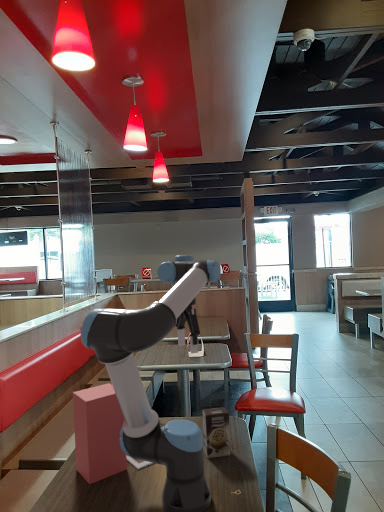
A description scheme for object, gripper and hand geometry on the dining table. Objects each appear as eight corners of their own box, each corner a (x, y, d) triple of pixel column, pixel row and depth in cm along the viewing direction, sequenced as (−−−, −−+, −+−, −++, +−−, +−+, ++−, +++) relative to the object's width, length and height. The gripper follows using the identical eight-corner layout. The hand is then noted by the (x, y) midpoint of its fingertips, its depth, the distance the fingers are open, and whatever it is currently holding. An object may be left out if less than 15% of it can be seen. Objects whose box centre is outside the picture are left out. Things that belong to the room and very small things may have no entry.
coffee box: (207, 458, 147) (205, 415, 147) (203, 450, 153) (201, 408, 153) (231, 455, 149) (229, 412, 149) (226, 447, 155) (224, 406, 155)
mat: (174, 429, 173) (174, 427, 173) (199, 444, 158) (199, 442, 158) (115, 450, 156) (115, 449, 156) (138, 469, 142) (137, 468, 142)
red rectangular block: (112, 456, 152) (108, 383, 151) (126, 469, 142) (123, 391, 142) (76, 469, 143) (72, 392, 143) (89, 484, 134) (85, 401, 133)
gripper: (207, 296, 145) (210, 355, 145) (183, 291, 168) (185, 341, 168) (188, 298, 142) (190, 357, 142) (166, 292, 165) (168, 343, 165)
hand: (187, 349), depth 155 cm, fingers open, 13 cm apart
